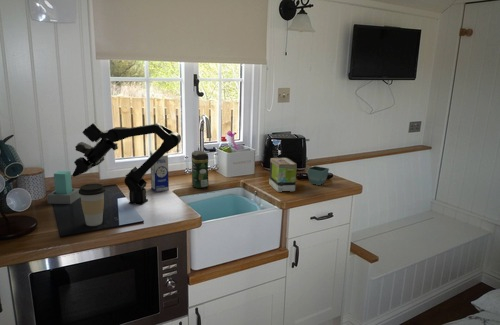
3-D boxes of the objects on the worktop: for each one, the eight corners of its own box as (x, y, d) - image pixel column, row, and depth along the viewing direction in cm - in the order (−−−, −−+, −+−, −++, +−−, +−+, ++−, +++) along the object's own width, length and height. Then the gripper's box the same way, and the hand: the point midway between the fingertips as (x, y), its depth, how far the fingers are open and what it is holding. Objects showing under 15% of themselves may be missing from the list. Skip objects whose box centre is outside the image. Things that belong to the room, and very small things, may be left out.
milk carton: (164, 186, 193) (163, 148, 188) (169, 190, 188) (168, 151, 183) (151, 188, 190) (149, 150, 185) (155, 192, 184) (154, 152, 179)
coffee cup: (86, 218, 150) (83, 182, 146) (110, 218, 151) (107, 182, 147) (77, 228, 141) (74, 190, 137) (103, 228, 142) (100, 190, 138)
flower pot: (313, 181, 211) (314, 165, 209) (328, 184, 206) (329, 168, 204) (306, 184, 204) (307, 168, 202) (321, 187, 199) (322, 171, 197)
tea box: (295, 191, 192) (297, 163, 188) (277, 192, 189) (278, 164, 186) (286, 183, 206) (287, 157, 202) (268, 183, 203) (269, 157, 200)
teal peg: (72, 198, 172) (70, 171, 169) (67, 202, 167) (64, 174, 164) (62, 198, 172) (59, 170, 169) (56, 201, 167) (53, 173, 164)
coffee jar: (190, 183, 199) (189, 149, 195) (204, 182, 202) (204, 148, 198) (195, 189, 191) (195, 153, 186) (210, 187, 194) (210, 152, 190)
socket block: (80, 196, 175) (80, 188, 174) (70, 204, 165) (69, 195, 164) (59, 196, 175) (58, 187, 174) (47, 203, 165) (47, 194, 164)
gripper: (95, 133, 172) (73, 155, 174) (77, 140, 154) (53, 165, 156) (113, 150, 174) (92, 172, 176) (97, 159, 156) (73, 184, 158)
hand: (78, 173), depth 167 cm, fingers open, 9 cm apart
